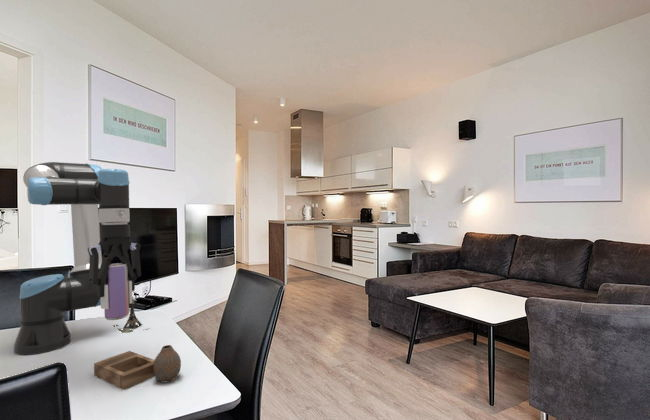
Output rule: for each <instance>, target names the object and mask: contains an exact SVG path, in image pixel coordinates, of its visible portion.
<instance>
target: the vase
mask: <svg viewBox="0 0 650 420" xmlns="http://www.w3.org/2000/svg"><path fill="white" fill-rule="evenodd" d="M154 360H155V361H154V365H153V372H154V375H155V377H154V378H155V379H156V380H157V381H159V382H161V383H168V382H172V381H174V380H176V378H177V377H178V375H179V374H180V371H181V367H182V361H181V357H180V355H179V353H178V352H177V350H175V349H174V348H173V346H172V345H171V344H166V345H163V346H162V347H161V349H160V351H159V352H158V353H157V355H156V356H155V359H154Z"/></svg>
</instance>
